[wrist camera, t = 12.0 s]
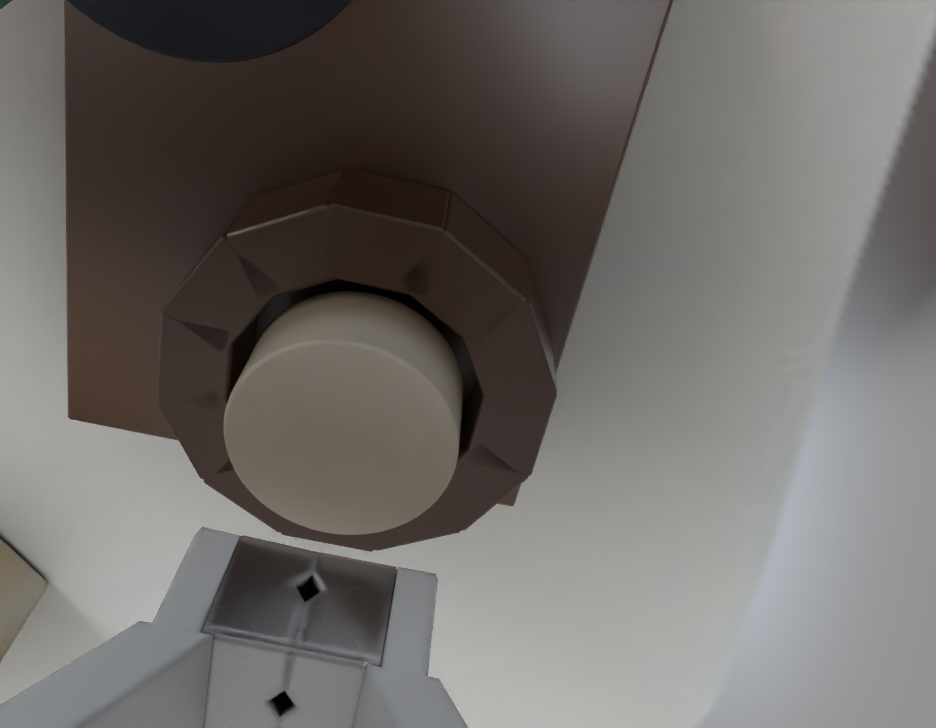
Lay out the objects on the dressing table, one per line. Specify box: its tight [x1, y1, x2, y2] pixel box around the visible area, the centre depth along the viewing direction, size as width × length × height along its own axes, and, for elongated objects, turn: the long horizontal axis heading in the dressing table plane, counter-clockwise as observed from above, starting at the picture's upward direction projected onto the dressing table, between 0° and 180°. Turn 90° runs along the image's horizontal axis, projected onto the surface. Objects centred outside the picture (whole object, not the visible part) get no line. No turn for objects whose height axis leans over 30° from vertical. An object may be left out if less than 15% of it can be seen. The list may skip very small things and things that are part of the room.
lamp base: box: [64, 0, 673, 552], centre depth 15 cm, size 12×9×4 cm
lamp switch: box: [224, 291, 463, 535], centre depth 14 cm, size 4×4×2 cm
